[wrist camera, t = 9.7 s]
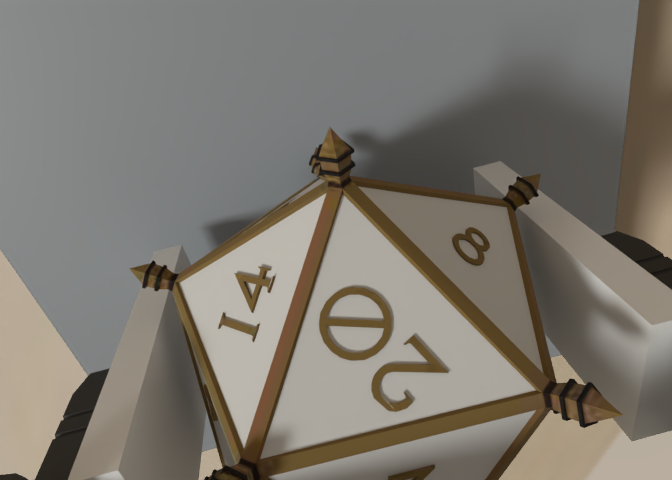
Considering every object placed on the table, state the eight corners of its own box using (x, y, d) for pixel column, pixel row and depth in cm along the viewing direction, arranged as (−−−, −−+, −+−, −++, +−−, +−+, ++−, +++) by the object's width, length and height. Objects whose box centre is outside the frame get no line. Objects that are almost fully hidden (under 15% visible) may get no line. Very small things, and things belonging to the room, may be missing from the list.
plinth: (536, 273, 22) (601, 343, 18) (171, 370, 22) (150, 465, 18) (539, -144, 14) (660, -195, 10) (-36, -1, 14) (-166, 10, 10)
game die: (264, 203, 16) (-89, 309, 8) (491, 54, 12) (267, -88, 3) (386, 429, 16) (170, 789, 8) (657, 362, 12) (860, 1012, 3)
